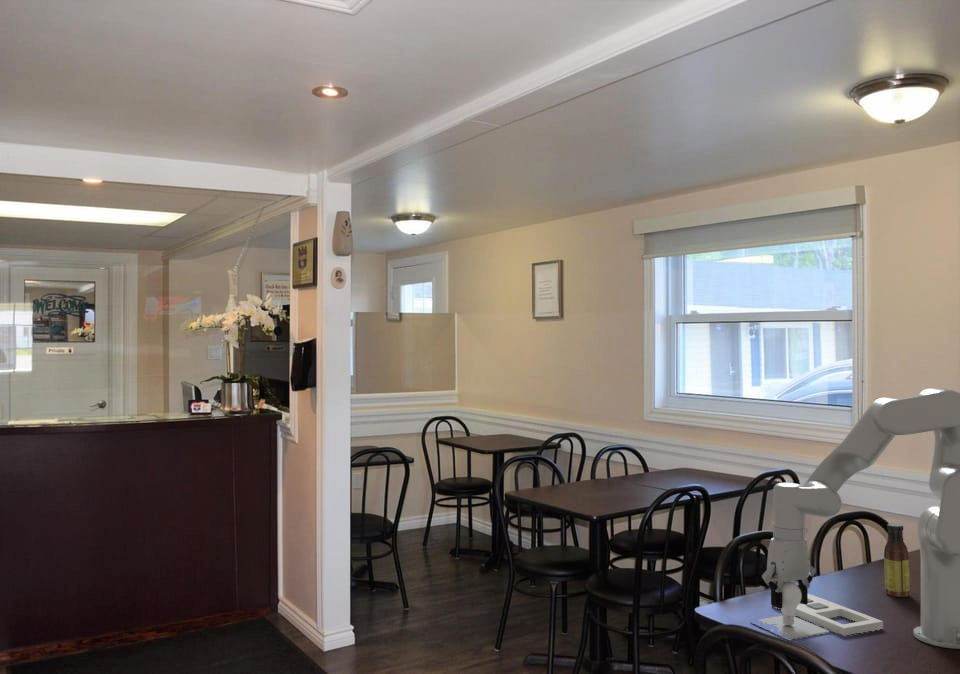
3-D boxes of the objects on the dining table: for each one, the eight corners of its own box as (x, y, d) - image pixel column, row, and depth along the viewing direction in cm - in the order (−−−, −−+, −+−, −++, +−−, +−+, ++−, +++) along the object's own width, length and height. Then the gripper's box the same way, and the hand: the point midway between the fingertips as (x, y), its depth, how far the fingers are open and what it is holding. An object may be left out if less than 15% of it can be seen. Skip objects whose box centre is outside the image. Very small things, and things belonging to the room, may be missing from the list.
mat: (829, 633, 192) (829, 631, 192) (788, 640, 187) (788, 638, 187) (789, 616, 204) (789, 614, 204) (750, 622, 199) (750, 620, 199)
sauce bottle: (904, 592, 225) (904, 522, 226) (913, 598, 219) (913, 527, 220) (880, 591, 226) (880, 521, 226) (889, 597, 220) (889, 526, 220)
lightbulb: (780, 619, 200) (779, 576, 200) (805, 625, 196) (805, 580, 196) (771, 626, 195) (770, 582, 195) (797, 632, 191) (796, 587, 191)
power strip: (882, 629, 195) (882, 618, 195) (844, 636, 190) (844, 625, 190) (808, 600, 217) (808, 591, 217) (771, 606, 212) (771, 596, 212)
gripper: (804, 527, 203) (804, 596, 202) (751, 533, 196) (751, 604, 196) (827, 533, 196) (827, 605, 196) (773, 540, 189) (773, 614, 189)
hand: (789, 604), depth 196 cm, fingers open, 7 cm apart
